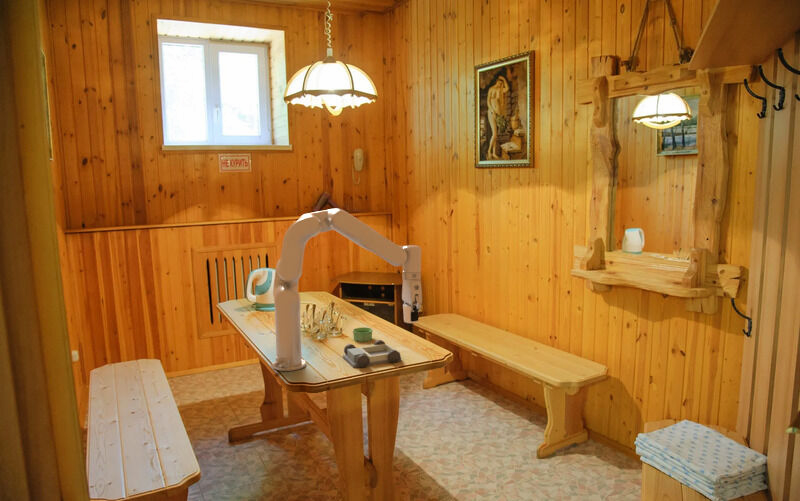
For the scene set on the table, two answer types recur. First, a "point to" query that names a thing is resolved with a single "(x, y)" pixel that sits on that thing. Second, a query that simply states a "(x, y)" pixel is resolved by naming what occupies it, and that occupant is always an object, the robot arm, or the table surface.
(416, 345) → the table surface
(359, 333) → the ramekin
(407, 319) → the pale pink cup
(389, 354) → the chassis
